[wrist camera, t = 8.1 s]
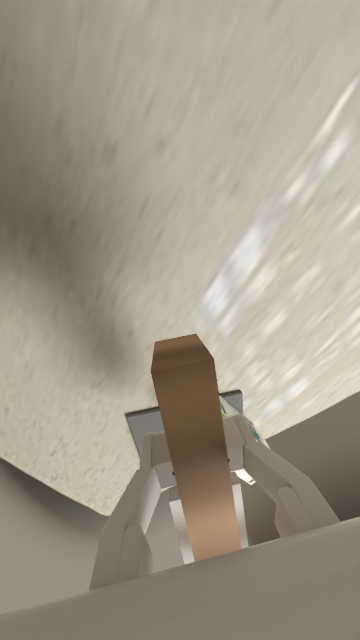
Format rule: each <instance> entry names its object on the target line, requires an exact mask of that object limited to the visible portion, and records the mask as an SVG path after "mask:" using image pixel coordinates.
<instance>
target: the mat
mask: <svg viewBox="0 0 360 640" xmlns="http://www.w3.org/2000/svg"><path fill="white" fill-rule="evenodd" d="M220 396H221V397H222V398H223V399H224V400H225V401H227V402H228V403H229V404H230V405H231V406H232V407H233V408H235V409H236V410H237V411H238V412H239V413H240V414H242V415H243V402H242V392H241V391H236V392H232V393H227V394H222V395H220ZM127 420H128V423H129V425H130V428H131V431H132V434H133V437H134V440H135V443H136V446H137V448H138V451H139V454H140V457H141V448H142V438H143V435H144V434H149V433H154V432H159V431H164V426H163V422H162V418H161V413H160V409H159V408H156V409H151V410H146V411H141V412H137V413H132V414H127Z"/></svg>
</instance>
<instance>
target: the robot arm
mask: <svg viewBox="0 0 360 640" xmlns="http://www.w3.org/2000/svg"><path fill="white" fill-rule="evenodd" d="M222 420H223V427H224V434H225V441H226V448H227V455H228V462H229V468H230V472H231V471H236V470H241V469H244V470H245V471H246V472H247V473H248V474H249V475H250V476H251V477H252V479H253V480H254V481H255V482H256V483H257V484H258V485H259V486H260V487H261V488H262V489H263V490H264V491H265V492H266V493H267V494H268V495H269V496H270V497H271V498H272V500H273V501H274V502H275V503H276V504H277V506H276V514H275V525H276V527H277V530H278V532H279V534H280V537H281V538H280V539H276V540H273V541H269V542H265V543H262V544H258V545H255V546H251V547H247V548H243V549H240V550H236V551H232V552H229V553H225V554H221V555H218V556H214V557H210V558H207V559H203V560H199V561H196V562H192V563H188V564H185V565H181V566H177V567H174V568H170V569H166V570H163V571H159V572H156V573H153V565H154V564H153V562H154V561H153V560H154V556H153V553H152V551H151V548H150V546H149V544H148V542H147V539H146V537H145V534H146V531H147V528H148V525H149V523H150V520H151V517H152V515H153V512H154V509H155V506H156V504H157V501H158V498H159V496H160V493H161V489H162V488H166V487H170V486H173V485H177V483H176V478H175V474H174V470H173V465H172V461H171V457H170V452H169V448H168V444H167V439H166V435H165V431H159V432H154V433H149V434H144V435H143V438H142V448H141V459H140V469H139V470H136V472H135V474H134V476H133V477H132V479H131V481H130V483H129V484H128V486H127V488H126V490H125V491H124V493H123V495H122V497H121V498H120V500H119V502H118V504H117V505H116V507H115V509H114V510H113V512H112V514H111V516H110V518H109V519H108V521H107V523H106V525H105V526H104V528H103V530H102V531H101V536H100V541H99V545H98V550H97V555H96V559H95V564H94V569H93V573H92V578H91V583H90V588H89V591H86V592H82V593H78V594H75V595H71V596H68V597H64V598H60V599H56V600H53V601H49V602H45V603H42V604H38V605H35V606H31V607H27V608H23V609H20V610H16V611H12V612H9V613H5V614H1V615H0V640H360V517H357V518H354V519H350V520H346V521H342V522H340V521H339V519H338V518H337V516H336V515H335V513H334V512H333V511H332V509H331V508H330V506H329V505H328V503H327V502H326V500H325V499H324V497H323V496H322V495H321V493H320V492H319V490H318V489H317V488H316V486H315V485H314V483H313V482H312V480H311V479H310V478H308V477H307V476H306V475H304V474H303V473H302V472H300V471H299V470H297V469H296V468H295V467H293V466H292V465H291V464H289V463H288V462H287V461H285V460H284V459H283V458H281V457H280V456H279V455H277V454H276V453H275V452H273V451H272V450H271V449H269V448H268V447H266V446H265V445H264V444H262V443H261V442H257V441H256V439H255V437H254V436H253V434H252V432H251V430H250V428H249V426H248V425H247V423H246V421H245V419H244V417H243V415H242V414H236V415H230V416H226V417H222Z"/></svg>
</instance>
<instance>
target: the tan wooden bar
mask: <svg viewBox="0 0 360 640" xmlns="http://www.w3.org/2000/svg"><path fill="white" fill-rule="evenodd" d="M151 374H152V379H153V383H154V387H155V392H156V396H157V400H158V405H159V409H160V413H161V418H162V422H163V426H164V431H165V435H166V439H167V444H168V448H169V452H170V457H171V461H172V465H173V470H174V474H175V478H176V483H177V486H176V487H172V488H169V503H170V507H171V511H172V515H173V519H174V523H175V527H176V531H177V535H178V539H179V543H180V547H181V551H182V555H183V559H184V563H185V564H188V563H192V562H196V561H199V560H203V559H207V558H210V557H214V556H218V555H221V554H225V553H229V552H232V551H236V550H240V549H243V548H247V547H248V540H247V532H246V525H245V517H244V510H243V502H242V494H241V486H240V482H239V479H238V477H237V474H236V472H235V471H234V472H230V468H229V462H228V455H227V448H226V441H225V434H224V427H223V420H222V413H221V406H220V399H219V392H218V385H217V378H216V371H215V364H214V358H213V357H212V355H211V354H210V353H209V351H208V350H207V348H206V347H205V346H204V344H203V343H202V341H201V340H200V339H199V337H198V336H197V334H192V335H187V336H182V337H177V338H172V339H167V340H162V341H157V342H155V345H154V352H153V360H152V367H151Z"/></svg>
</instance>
